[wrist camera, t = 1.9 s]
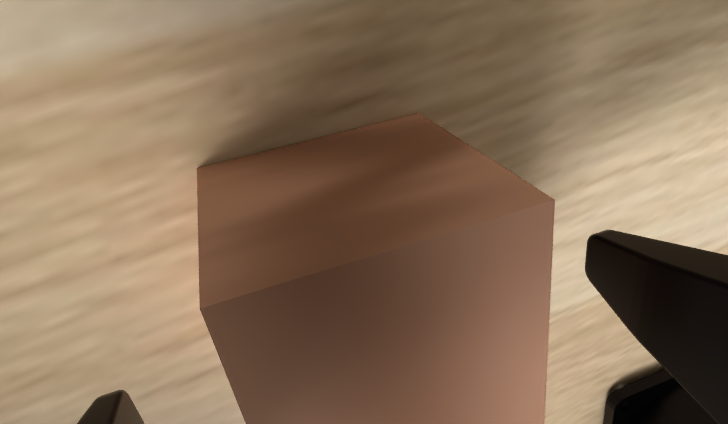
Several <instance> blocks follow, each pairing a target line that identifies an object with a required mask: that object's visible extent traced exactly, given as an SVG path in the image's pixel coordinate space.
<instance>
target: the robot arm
mask: <svg viewBox="0 0 728 424" xmlns="http://www.w3.org/2000/svg"><path fill="white" fill-rule="evenodd" d="M585 272H586V275H587V277H588V279H589V281H590V282H591V283H592V284H593V286H594V287H595V288H596V289H597V291H598V292H599V293H600V294H601V296H602V297H603V298H604V299H605V301H606V302H607V303H608V304H609V306H610V307H611V308H612V309H613V311H614V312H615V313H616V314H617V316H618V317H619V318H620V319H621V321H622V322H623V323H624V324H625V326H626V327H627V328H628V329H629V331H630V332H631V333H632V334H633V335H634V336H635V338H636V339H637V340H638V341H639V342H640V343H641V344H642V345H643V346H644V347H645V348H646V350H647V351H648V352H649V353H650V354H651V355H652V356H653V357H654V358H655V359H656V360H657V361H658V362H659V363H660V364H661V365H662V366H663V367H664V368H665V369H666V370H664V371H661V372H659V373H657V374H654V375H652V376H649V377H647V378H644V379H642V380H639V381H637V382H634V383H632V384H630V385H627V386H625V387H622V388H620V389H618V390H616V391H614V392H613V393H612V394H611V395H610V396H609V398H608V399H607V402H606V408H605V416H604V423H603V424H728V255H724V254H719V253H715V252H710V251H706V250H701V249H696V248H692V247H687V246H683V245H678V244H673V243H669V242H664V241H660V240H655V239H650V238H646V237H641V236H637V235H632V234H628V233H623V232H618V231H614V230H605V231H602V232H599V233H596V234H593V235H591V236H590V237H589V239H588V241H587V250H586V261H585ZM77 424H144V422H143V420H142V418H141V416H140V414H139V412H138V411H137V409H136V407H135V405H134V403H133V402H132V400H131V398H130V396H129V395H128V393H127V392H126V391H124V390H118V391H115V392H112V393H108V394H105V395H102V396H100V397H98V398H97V399H96V400H95V401H94V402H93V403H92V405H91V406H90V407H89V409H88V410H87V411H86V412H85V414H84V415H83V416H82V418H81V419H80V420H79V422H78V423H77Z"/></svg>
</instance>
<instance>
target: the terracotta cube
mask: <svg viewBox="0 0 728 424" xmlns="http://www.w3.org/2000/svg"><path fill="white" fill-rule="evenodd" d="M197 196H198V245H199V293H200V310H201V313H202V315H203V318H204V320H205V323H206V325H207V328H208V330H209V333H210V335H211V337H212V340H213V342H214V345H215V347H216V350H217V352H218V355H219V357H220V360H221V362H222V365H223V367H224V370H225V372H226V375H227V377H228V380H229V382H230V385H231V387H232V390H233V392H234V395H235V397H236V400H237V402H238V405H239V407H240V410H241V412H242V415H243V417H244V420H245V422H246V424H544V419H545V398H546V376H547V355H548V333H549V312H550V290H551V269H552V247H553V226H554V204H555V200H554V199H553V198H551V197H549V196H548V195H546V194H545V193H543V192H542V191H540V190H538V189H537V188H535V187H534V186H532V185H531V184H529V183H527V182H526V181H524V180H523V179H521V178H520V177H518V176H516V175H515V174H513V173H512V172H510V171H509V170H507V169H506V168H504V167H502V166H501V165H499V164H498V163H496V162H495V161H493V160H491V159H490V158H488V157H487V156H485V155H484V154H482V153H480V152H479V151H477V150H476V149H474V148H473V147H471V146H469V145H468V144H466V143H465V142H463V141H462V140H460V139H458V138H457V137H455V136H454V135H452V134H451V133H449V132H447V131H446V130H444V129H443V128H441V127H440V126H438V125H436V124H435V123H433V122H432V121H430V120H429V119H427V118H426V117H424V116H422V115H421V114H419V113H416V114H412V115H408V116H404V117H400V118H396V119H392V120H388V121H384V122H380V123H376V124H372V125H368V126H364V127H360V128H356V129H352V130H348V131H344V132H340V133H336V134H332V135H328V136H324V137H320V138H316V139H312V140H308V141H304V142H300V143H296V144H292V145H288V146H284V147H280V148H276V149H272V150H268V151H264V152H260V153H256V154H252V155H248V156H244V157H240V158H236V159H232V160H228V161H224V162H220V163H216V164H212V165H208V166H204V167H200V168H197Z"/></svg>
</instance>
